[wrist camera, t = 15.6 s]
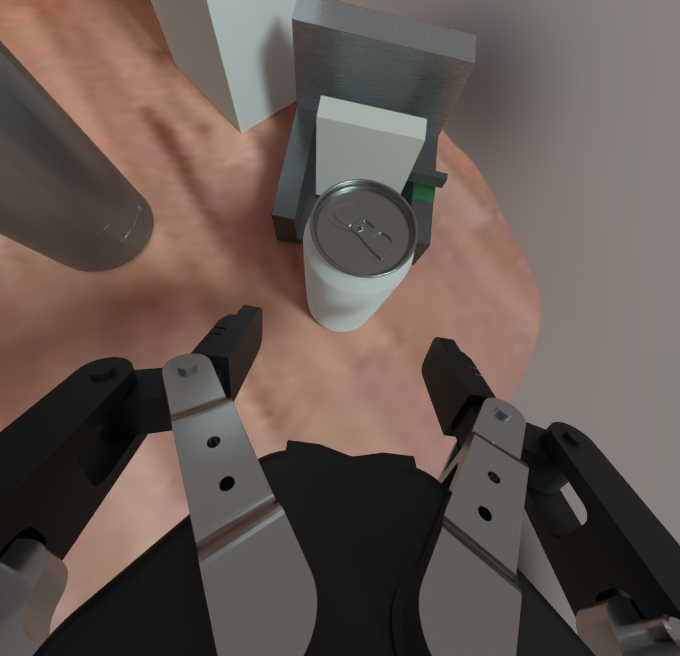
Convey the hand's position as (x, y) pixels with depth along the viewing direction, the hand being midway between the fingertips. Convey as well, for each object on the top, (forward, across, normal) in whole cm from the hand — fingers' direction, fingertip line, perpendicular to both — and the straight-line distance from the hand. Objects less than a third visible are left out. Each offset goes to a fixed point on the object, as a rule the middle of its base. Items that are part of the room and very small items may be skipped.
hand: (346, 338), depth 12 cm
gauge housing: (+21, 0, -5) cm, 22 cm away
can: (+13, 0, +4) cm, 13 cm away
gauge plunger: (+19, -2, -5) cm, 20 cm away
